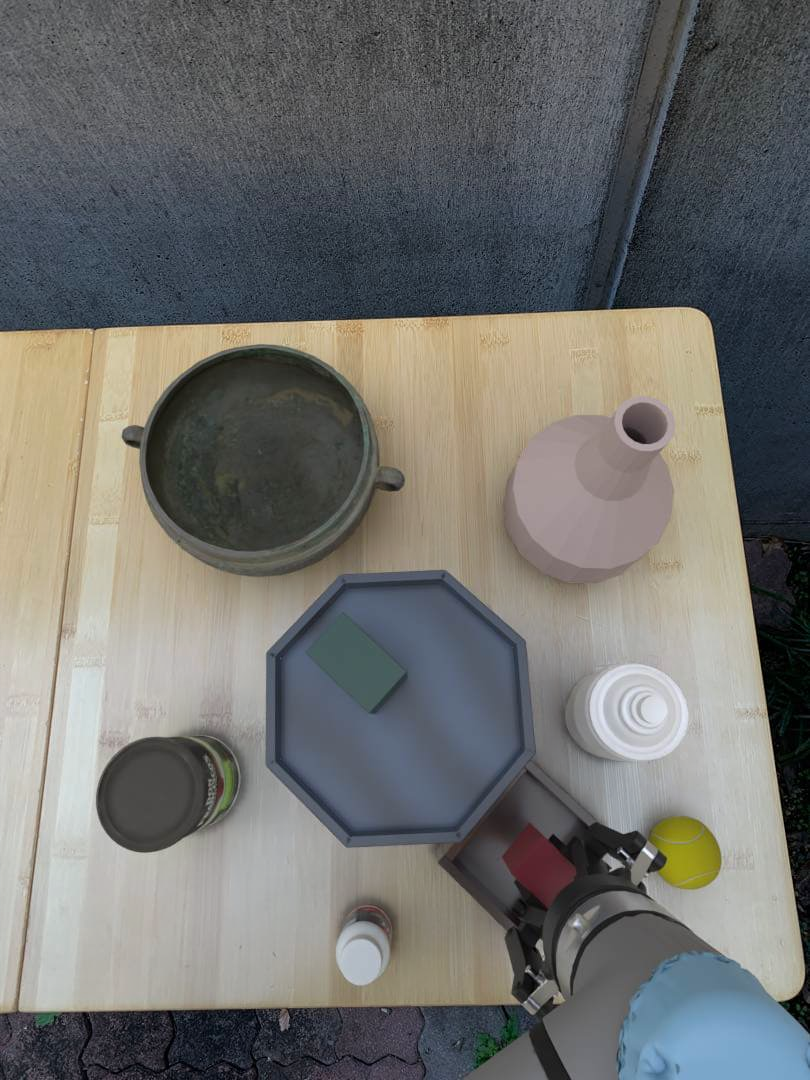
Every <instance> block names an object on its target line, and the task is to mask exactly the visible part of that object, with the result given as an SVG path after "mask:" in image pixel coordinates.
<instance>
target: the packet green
mask: <svg viewBox="0 0 810 1080" xmlns="http://www.w3.org/2000/svg"><path fill="white" fill-rule="evenodd" d="M305 653H306V654H307V655H308V656H309V657H310V658H311V659H312V660H313V661H314V662H315V663H316V664H317V665H319V666H320V667H321V668H322V669H323V670H324V671H325V672H326V673H327V674H328V675H329V676H330V677H331V678H332V679H333V680H334V681H335V682H336V683H337V684H338V685H339V686H340V687H342V688H343V689H344V690H345V691H346V692H347V693H348V694H349V695H350V696H351V697H352V698H353V699H354V700H355V701H356V702H357V703H358V704H359V705H360V706H361V707H362V708H364V709H365V710H366V711H367V712H368V713H369V714H375V713H376V712H377V711H378V710H379V709H380V708H381V707H382V706H383V705H384V703H385V702H386V701H387V700H388V699H389V698H390V697H391V696H392V694H393V693H394V692H395V691H396V690H397V689H398V688H399V687H400V686H401V684H402V683H403V682H404V681H405V680H406V679H407V678H408V675H407V671H406V670H405V669H404V668H403V667H402V666H401V665H400V664H398V663H397V662H396V661H395V660H394V659H393V658H392V657H391V656H390V655H389V654H388V653H387V652H386V651H384V650H383V649H382V648H381V647H380V646H379V645H378V644H377V643H376V642H375V641H374V640H373V639H371V638H370V637H369V636H368V635H367V634H366V633H365V632H364V631H363V630H362V629H361V628H360V627H359V626H357V625H356V624H355V623H354V622H353V621H352V620H351V619H350V618H349V617H348V616H347V615H346V614H345V613H342V614H341V615H340V616H339V617H338V618H337V619H336V620H335V621H334V622H333V623H332V624H331V625H330V626H329V628H328V629H327V630H326V631H325V632H324V633H323V634H322V635H321V636H320V637H319V638H318V639H317V640H316V641H315V642H314V644H313V645H312V646H311V647H310V648H309V649H308V650H307V651H306V652H305Z"/></svg>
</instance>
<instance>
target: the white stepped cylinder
mask: <svg viewBox="0 0 810 1080" xmlns="http://www.w3.org/2000/svg"><path fill="white" fill-rule="evenodd" d="M564 721H565V725H566V729H567V731H568V733H569V735H570V737H571V738H572V740H573V741H574V742H575V743H576V744H577V745H578V746H579V747H580V748H581V749H582V750H584V751H585V752H587V753H589V754H591V755H593V756H596V757H599V758H602V759H603V758H604V759H608V760H611V761H615V762H625V763H648V762H654V761H657V760H659V759H662V758H664V757H665V756H668V754H670V753H672V752H673V751H675V749H676V748H677V747H678V746H679V745H680V744H681V743H682V741H683V740H684V738H685V736H686V733H687V731H688V727H689V707H688V703H687V700H686V697H685V695H684V693H683V692H682V690H681V688H680V687H679V686H678V684H677V683H676V682H675V681H674V680H673V678H671V677H670V676H669V675H667V674H666V673H664V671H661V670H659V669H657V668H656V667H654V666H653V667H652V666H651V665H648V664H644V663H641V662H632V661H631V662H621V663H616V664H613V665H610V666H607V667H604V668H601V669H598V670H596V671H594V672H592V673H590V674H587V675H586V676H583V677H582V678H581V679H580V680H578V682H577V683H576V684H575V685H574V686H573V689H572V691H571V693H570V695H569V698H568V700H567V702H566V706H565V709H564Z"/></svg>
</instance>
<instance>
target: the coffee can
mask: <svg viewBox="0 0 810 1080" xmlns="http://www.w3.org/2000/svg"><path fill="white" fill-rule="evenodd" d="M241 783H242V774H241V768H240V764H239V761H238V759H237V757H236V755H235V753H234V752H233V750H232V749H231V748H230V747H229V745H227V744H226V743H225V742H224V741H222V740H221V739H219V738H217V737H214V736H211V735H207V734H193V735H183V736H168V737H167V736H149V737H142V738H140V739H137V740H134V741H132V742H130V743H129V744H128V743H127V744H126V745H125V746H123V747H122V748H120V750H118V751H117V752H116V753H115V754H114V755H113V756H112V757H111V758H110V760H109V761H108V762H107V764H106V766H105V767H104V768H103V770H102V772H101V774H100V777H99V780H98V783H97V786H96V793H95V807H96V814H97V817H98V820H99V823H100V826H101V827H102V829H103V830H104V832H105V833H106V834H107V836H108V837H109V838H110V839H111V840H112V841H113V842H114V843H115V844H116V845H118V846H120V847H122V848H123V849H126V850H128V851H131V852H135V853H141V854H145V853H146V854H147V853H156V852H159V851H163V850H166V849H169V848H171V847H172V846H174V845H176V844H178V843H179V842H180V841H181V840H182V839H185V838H186V837H188V836H190V835H192V834H195V833H197V832H198V831H200V830H202V829H204V828H207V827H209V826H212V825H214V824H215V823H217V822H219V821H221V820H222V819H223V818H224V817H225V816H226V815H227V814H228V813H229V812H230V810H231V809H232V808H233V806H234V804H235V802H236V800H237V798H238V796H239V793H240V790H241Z"/></svg>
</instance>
